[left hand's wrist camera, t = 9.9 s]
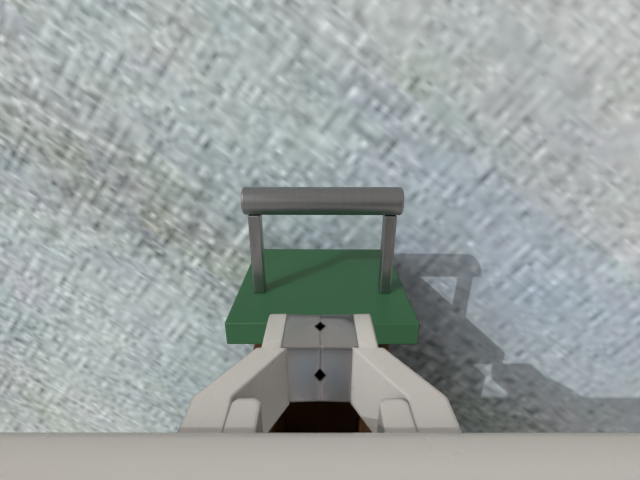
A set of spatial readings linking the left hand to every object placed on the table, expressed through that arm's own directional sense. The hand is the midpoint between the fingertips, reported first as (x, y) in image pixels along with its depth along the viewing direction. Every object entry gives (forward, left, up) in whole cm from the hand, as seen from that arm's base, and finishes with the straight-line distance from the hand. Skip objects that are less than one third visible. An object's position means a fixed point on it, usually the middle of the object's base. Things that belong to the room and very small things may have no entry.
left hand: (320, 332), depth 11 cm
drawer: (+5, +8, -14) cm, 16 cm away
